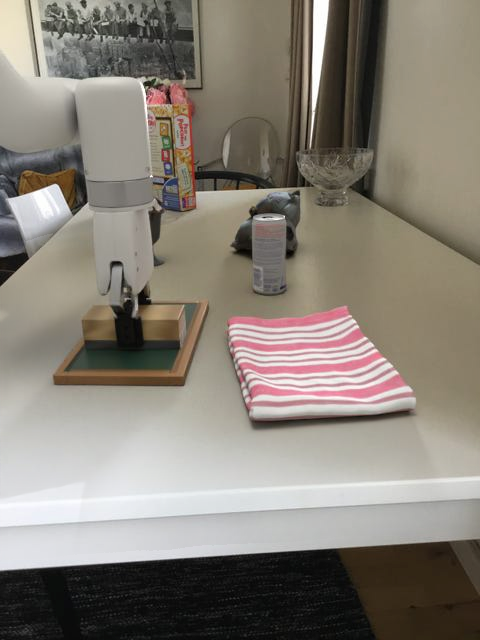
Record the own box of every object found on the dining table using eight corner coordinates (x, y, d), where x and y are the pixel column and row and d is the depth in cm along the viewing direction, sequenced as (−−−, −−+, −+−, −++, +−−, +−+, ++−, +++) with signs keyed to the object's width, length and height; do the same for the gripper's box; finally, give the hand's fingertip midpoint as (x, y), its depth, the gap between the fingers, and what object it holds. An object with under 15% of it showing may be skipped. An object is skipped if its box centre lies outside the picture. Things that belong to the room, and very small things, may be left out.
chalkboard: (54, 384, 65) (52, 375, 64) (112, 308, 87) (111, 300, 86) (183, 385, 64) (183, 376, 63) (209, 307, 86) (208, 300, 85)
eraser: (85, 349, 70) (80, 319, 69) (96, 333, 75) (93, 304, 74) (180, 349, 70) (178, 319, 68) (186, 333, 74) (184, 304, 73)
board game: (197, 208, 156) (191, 103, 145) (180, 212, 151) (173, 104, 141) (151, 200, 169) (142, 103, 158) (134, 203, 165) (124, 104, 154)
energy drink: (281, 283, 95) (281, 212, 91) (289, 294, 90) (290, 219, 86) (250, 286, 94) (248, 214, 90) (256, 296, 90) (255, 221, 85)
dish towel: (347, 326, 78) (348, 302, 77) (418, 416, 56) (422, 385, 55) (224, 335, 76) (223, 311, 75) (250, 432, 55) (249, 401, 53)
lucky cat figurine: (221, 247, 117) (237, 183, 117) (271, 263, 122) (286, 201, 122) (252, 242, 103) (269, 169, 104) (307, 260, 108) (323, 190, 109)
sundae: (139, 269, 105) (131, 187, 99) (130, 260, 110) (122, 182, 105) (173, 264, 107) (167, 184, 101) (163, 255, 113) (156, 179, 107)
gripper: (109, 182, 73) (124, 312, 80) (63, 209, 58) (86, 368, 65) (166, 181, 73) (176, 312, 80) (135, 207, 57) (151, 368, 64)
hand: (136, 335), depth 72 cm, fingers closed on eraser, 5 cm apart
